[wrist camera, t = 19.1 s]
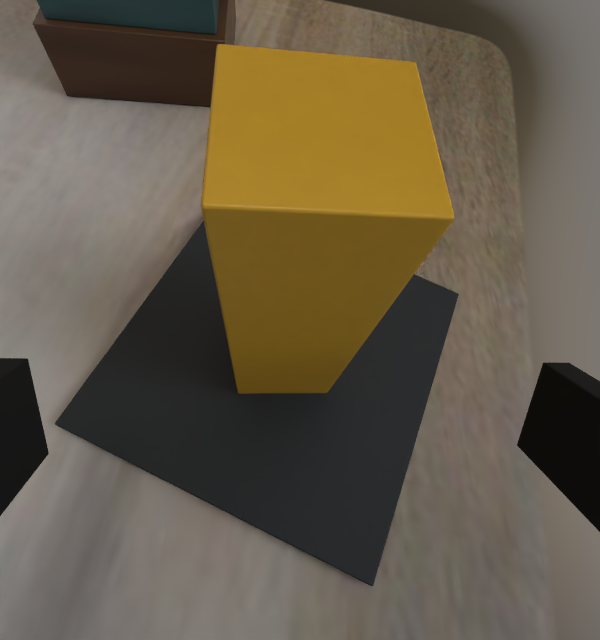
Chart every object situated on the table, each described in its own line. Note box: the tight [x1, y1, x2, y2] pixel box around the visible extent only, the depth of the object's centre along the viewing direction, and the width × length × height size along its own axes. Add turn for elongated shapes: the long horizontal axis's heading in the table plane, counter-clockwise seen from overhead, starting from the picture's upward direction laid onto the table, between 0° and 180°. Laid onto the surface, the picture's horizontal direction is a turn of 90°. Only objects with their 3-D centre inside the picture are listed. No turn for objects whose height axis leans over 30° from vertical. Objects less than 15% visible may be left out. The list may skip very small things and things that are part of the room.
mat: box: [55, 221, 458, 586], centre depth 18 cm, size 14×14×1 cm
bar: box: [201, 44, 455, 394], centre depth 12 cm, size 4×4×12 cm
